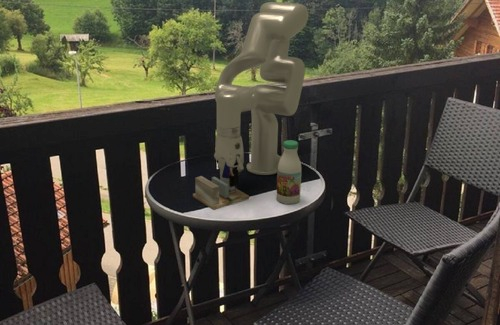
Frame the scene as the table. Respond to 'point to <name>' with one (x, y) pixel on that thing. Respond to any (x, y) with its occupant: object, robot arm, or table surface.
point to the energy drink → (226, 174)
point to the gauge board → (231, 195)
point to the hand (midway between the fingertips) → (228, 182)
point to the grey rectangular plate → (222, 187)
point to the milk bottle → (289, 174)
